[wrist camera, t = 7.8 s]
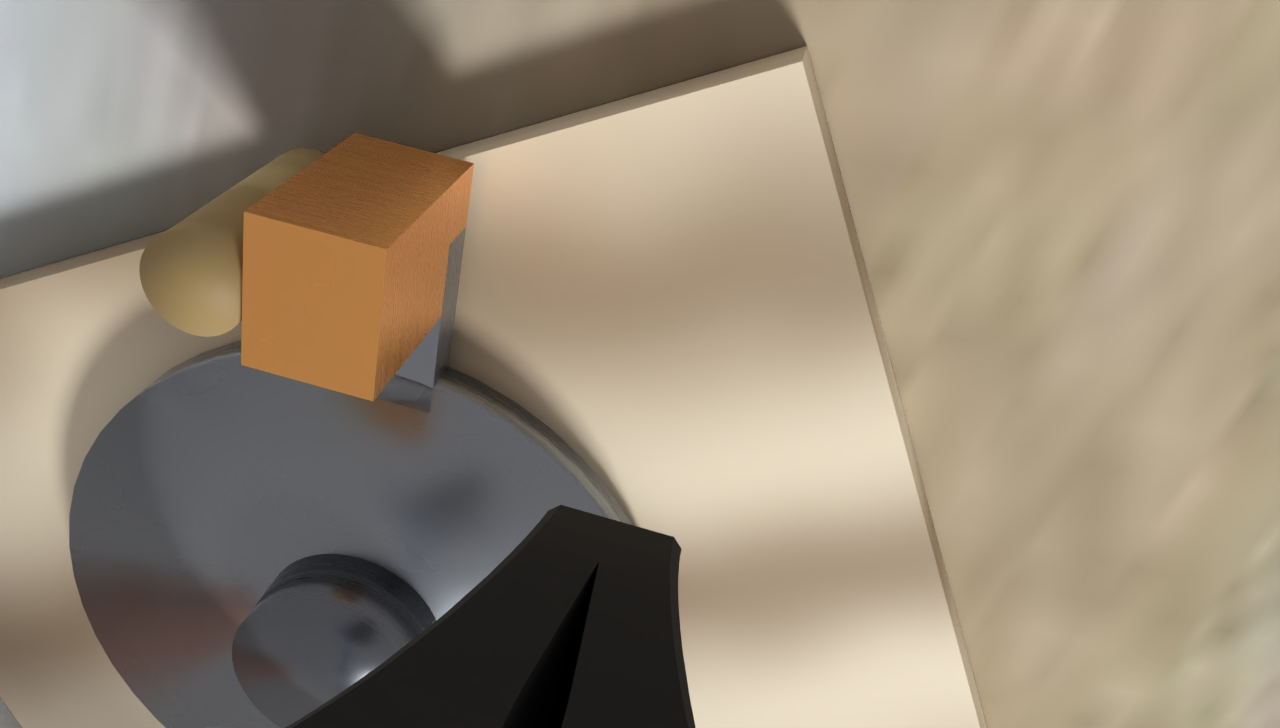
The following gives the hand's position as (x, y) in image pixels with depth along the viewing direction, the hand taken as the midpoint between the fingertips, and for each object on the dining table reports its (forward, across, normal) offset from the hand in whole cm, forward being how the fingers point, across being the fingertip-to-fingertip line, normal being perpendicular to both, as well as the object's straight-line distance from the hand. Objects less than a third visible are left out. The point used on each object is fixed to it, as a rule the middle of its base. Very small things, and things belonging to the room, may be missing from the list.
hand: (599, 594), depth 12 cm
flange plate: (+7, +5, +7) cm, 11 cm away
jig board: (+9, +5, +8) cm, 13 cm away
